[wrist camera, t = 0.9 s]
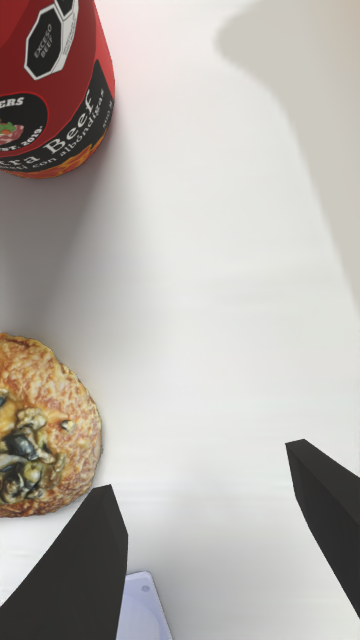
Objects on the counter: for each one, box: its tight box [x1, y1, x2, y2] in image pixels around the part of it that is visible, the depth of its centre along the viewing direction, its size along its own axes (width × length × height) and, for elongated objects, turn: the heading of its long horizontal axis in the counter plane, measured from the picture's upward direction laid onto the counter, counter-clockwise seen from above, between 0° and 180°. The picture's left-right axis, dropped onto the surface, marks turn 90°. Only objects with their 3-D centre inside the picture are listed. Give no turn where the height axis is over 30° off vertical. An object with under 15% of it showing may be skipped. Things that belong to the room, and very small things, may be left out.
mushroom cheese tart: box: [0, 333, 103, 518], centre depth 17 cm, size 11×11×5 cm
